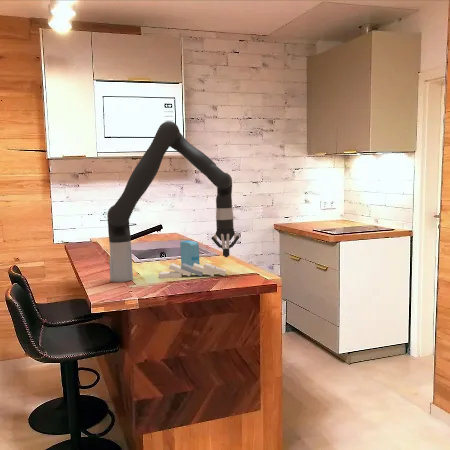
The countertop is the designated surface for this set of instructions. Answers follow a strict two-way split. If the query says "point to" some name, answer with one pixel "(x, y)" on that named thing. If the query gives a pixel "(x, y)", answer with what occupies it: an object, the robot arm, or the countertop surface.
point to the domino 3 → (190, 269)
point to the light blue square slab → (189, 252)
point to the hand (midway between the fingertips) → (226, 257)
